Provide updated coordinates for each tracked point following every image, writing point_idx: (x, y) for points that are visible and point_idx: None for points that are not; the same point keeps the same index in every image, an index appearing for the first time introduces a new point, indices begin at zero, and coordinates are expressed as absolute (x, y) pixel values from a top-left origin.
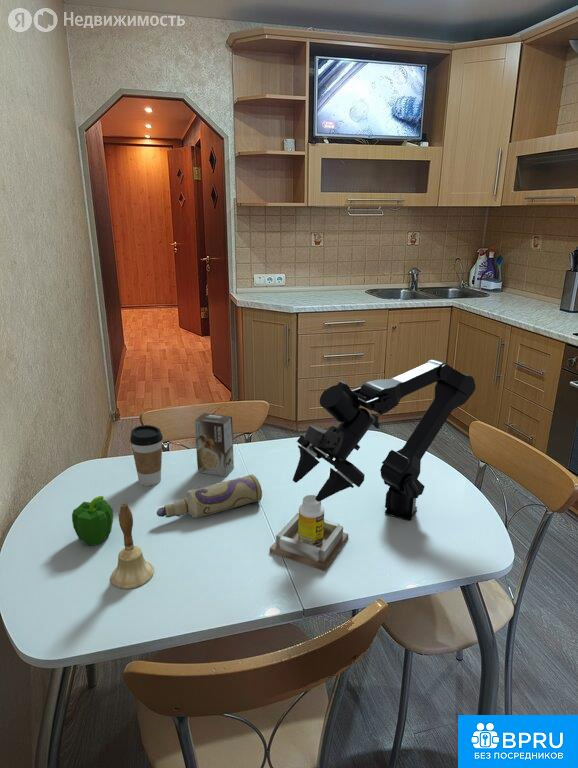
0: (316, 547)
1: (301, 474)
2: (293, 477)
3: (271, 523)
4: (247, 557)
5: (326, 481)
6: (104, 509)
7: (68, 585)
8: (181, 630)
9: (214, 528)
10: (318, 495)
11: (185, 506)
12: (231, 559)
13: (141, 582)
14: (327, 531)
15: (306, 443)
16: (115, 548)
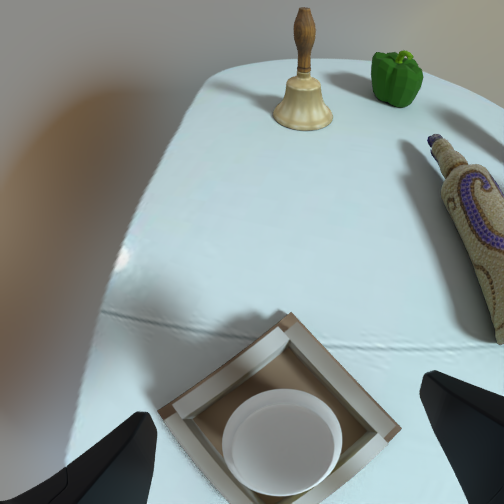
0: (189, 409)
1: (450, 430)
2: (444, 374)
3: (411, 356)
4: (289, 261)
5: (75, 498)
6: (398, 66)
7: None
8: (166, 150)
9: (412, 225)
10: (123, 425)
11: (449, 165)
12: (294, 230)
13: (276, 116)
14: None
15: None
16: (367, 108)
